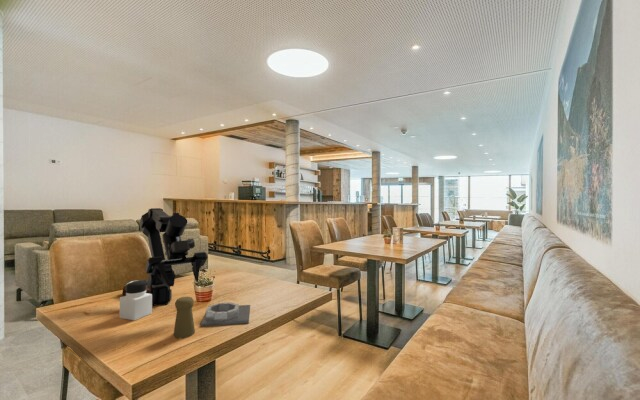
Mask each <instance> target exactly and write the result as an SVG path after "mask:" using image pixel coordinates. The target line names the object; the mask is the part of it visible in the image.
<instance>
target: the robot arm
mask: <svg viewBox="0 0 640 400" xmlns="http://www.w3.org/2000/svg"><path fill="white" fill-rule="evenodd" d="M187 225H188V219H187V218H186V217H185V216H183V215H182V214H180V212H173V213H172V215H169V214H168V213H167V212H166V211H164V209H162V208H160V207H159V208H157V207H155V208H148V210H147V211H146V212H145V213H143V214H142V215H141V217H140V219H139V228H140V229H141V231H142V234H143V235H144V236H146V237H147V239H148V240H147V241H148V246H149V250H150V256H151V257H149V258H148V259H147V261H146V264H145V274H147V275H148V274H149V275H148V279H147V280H146V281H147V287H148V289H150V290H151V294H152V306H161V305H162V306H163V305H168V304H169V303H170V302H171V301H172V293H173V292H172V290H173V289H171V287H174V285H175V279H176V273H175V271H174V270H173V267H172V266H179V265H185V264H191V266H192V268H191V270H192V274H193V278H194V280H195V282H196V283H198V282H199V278H200V269H201V268H202V267H203V266H205V264H206V262H207V260H208V258H209V257H208V254H207V252H206V251H197V252H194V253H193V255H192V256H191V257H190V256H189V257H187V256H188V255H189V251H190V250H192V249H194V248H195V240H194V238H187V239H186V240H182V237H181V236H183V235H184V232H185V230H186V227H187ZM161 233H163V234H162V238H161ZM163 247H164V248H163ZM165 256H166V257H165Z"/></svg>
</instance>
